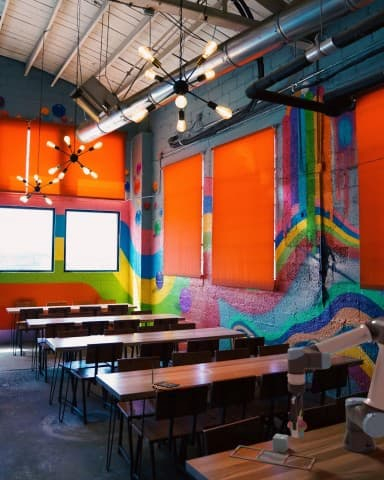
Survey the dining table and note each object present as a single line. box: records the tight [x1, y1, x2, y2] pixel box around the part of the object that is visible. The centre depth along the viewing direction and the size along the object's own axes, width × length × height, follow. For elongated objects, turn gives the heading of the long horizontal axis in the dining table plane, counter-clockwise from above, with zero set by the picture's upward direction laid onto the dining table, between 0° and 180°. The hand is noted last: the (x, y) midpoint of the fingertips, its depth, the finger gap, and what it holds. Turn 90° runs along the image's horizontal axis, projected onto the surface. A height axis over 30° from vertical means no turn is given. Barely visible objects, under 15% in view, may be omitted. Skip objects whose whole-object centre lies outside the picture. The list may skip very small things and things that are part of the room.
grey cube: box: [272, 433, 289, 453], centre depth 225 cm, size 6×6×6 cm
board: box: [228, 444, 317, 471], centre depth 215 cm, size 14×37×1 cm, turn 64°
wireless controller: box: [151, 364, 181, 388], centre depth 342 cm, size 20×14×17 cm
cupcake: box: [287, 410, 308, 438], centre depth 210 cm, size 9×8×12 cm
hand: (297, 433), depth 210 cm, fingers closed on cupcake, 8 cm apart
